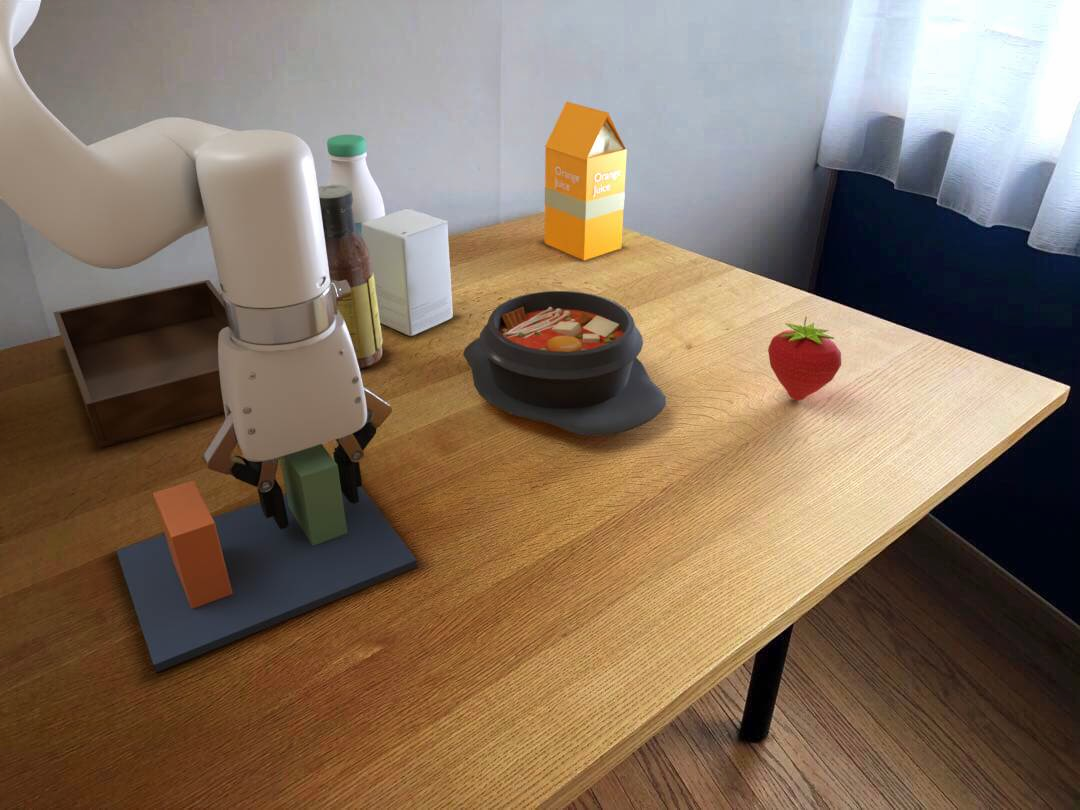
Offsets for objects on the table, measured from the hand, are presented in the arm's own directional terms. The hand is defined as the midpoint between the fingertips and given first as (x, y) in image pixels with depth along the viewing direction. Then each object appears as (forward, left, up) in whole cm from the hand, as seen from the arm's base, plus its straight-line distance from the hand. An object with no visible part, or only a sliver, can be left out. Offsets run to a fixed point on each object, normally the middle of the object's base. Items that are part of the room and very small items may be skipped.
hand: (314, 505), depth 72 cm
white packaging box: (+24, +32, -3) cm, 40 cm away
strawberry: (+50, -7, -3) cm, 51 cm away
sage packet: (0, 0, -2) cm, 2 cm away
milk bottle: (+22, +43, -3) cm, 48 cm away
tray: (-5, +34, -2) cm, 34 cm away
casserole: (+30, +8, -3) cm, 31 cm away
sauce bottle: (+14, +26, -3) cm, 30 cm away
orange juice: (+56, +41, -3) cm, 69 cm away
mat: (-5, -2, -2) cm, 6 cm away
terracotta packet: (-10, -2, -2) cm, 10 cm away
